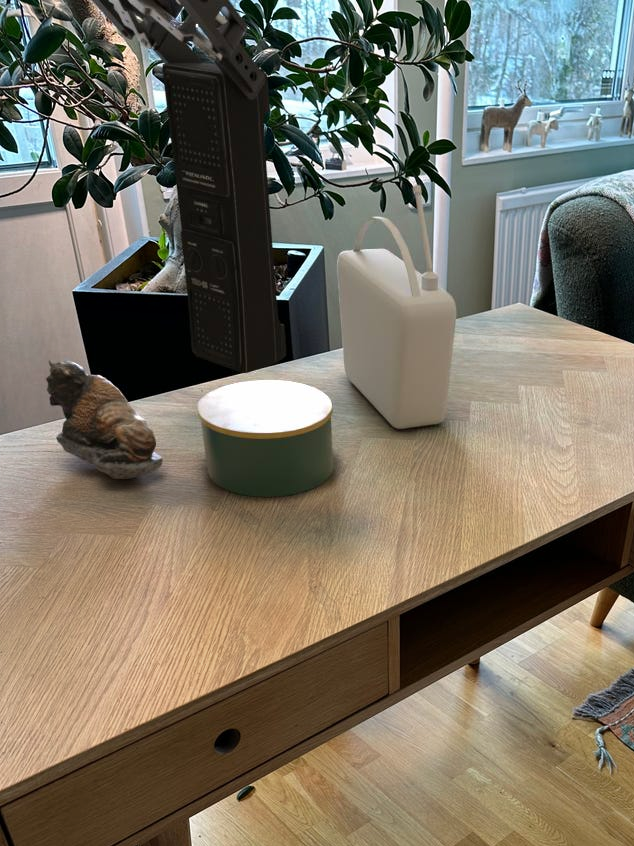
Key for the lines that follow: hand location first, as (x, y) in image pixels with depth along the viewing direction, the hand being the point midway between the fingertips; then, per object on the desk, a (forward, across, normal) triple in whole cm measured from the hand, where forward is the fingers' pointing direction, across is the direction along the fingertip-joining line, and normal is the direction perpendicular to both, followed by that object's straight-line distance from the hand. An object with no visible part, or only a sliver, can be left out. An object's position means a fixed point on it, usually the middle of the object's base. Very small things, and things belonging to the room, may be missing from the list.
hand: (225, 83), depth 69 cm
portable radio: (+14, 0, +16) cm, 22 cm away
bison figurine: (+19, +13, +31) cm, 39 cm away
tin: (+27, +2, +22) cm, 35 cm away
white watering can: (+43, +6, +6) cm, 44 cm away
